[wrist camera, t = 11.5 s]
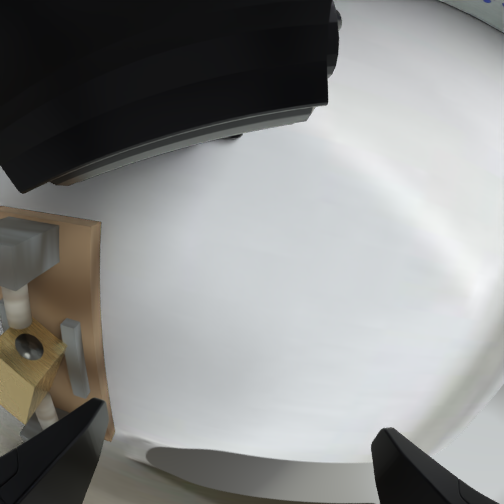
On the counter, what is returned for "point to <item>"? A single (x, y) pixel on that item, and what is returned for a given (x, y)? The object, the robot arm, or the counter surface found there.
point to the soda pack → (482, 10)
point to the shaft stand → (56, 303)
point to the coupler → (27, 368)
